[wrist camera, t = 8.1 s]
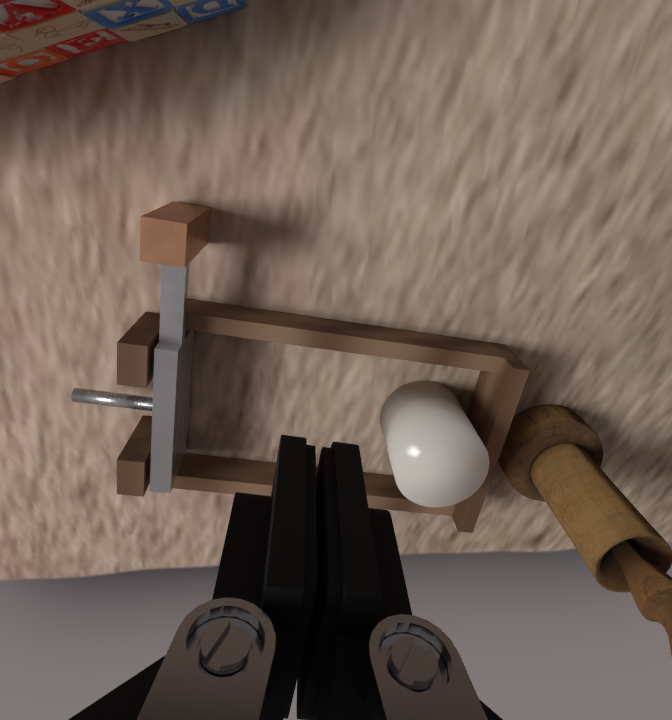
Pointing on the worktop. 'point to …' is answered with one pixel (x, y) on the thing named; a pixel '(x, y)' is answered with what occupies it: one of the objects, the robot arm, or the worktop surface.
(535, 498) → the mortar and pestle
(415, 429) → the white marshmallow
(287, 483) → the robot arm
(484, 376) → the lane
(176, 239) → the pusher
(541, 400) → the worktop surface
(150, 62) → the worktop surface
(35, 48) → the stack of blocks
